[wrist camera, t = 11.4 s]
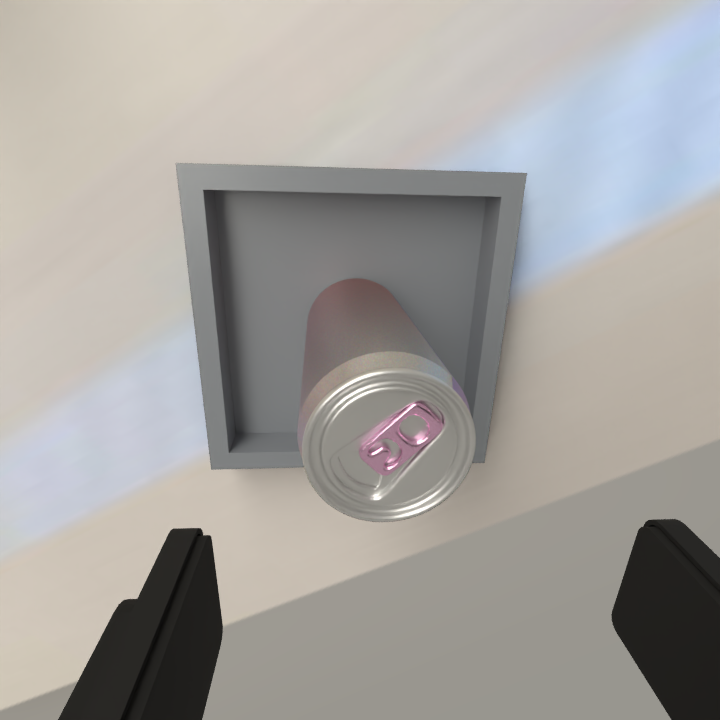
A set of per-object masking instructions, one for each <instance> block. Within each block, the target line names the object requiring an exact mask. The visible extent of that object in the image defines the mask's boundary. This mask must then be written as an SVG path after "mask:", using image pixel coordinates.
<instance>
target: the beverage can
mask: <svg viewBox="0 0 720 720" xmlns="http://www.w3.org/2000/svg"><path fill="white" fill-rule="evenodd" d="M297 438H298V446H299V451H300V454H301V457H302V460H303V465H304V469H305V472H306V475H307V477H308V479H309V482H310V483H311V485H312V487H313V488H314V490H315V491H316V492H317V494H318V495H319V496H320V497H321V498H322V499H323V500H324V501H325V502H326V503H328V504H329V505H330V506H332V507H333V508H334V509H336V510H338V511H340V512H341V513H343V514H346V515H348V516H351V517H353V518H357V519H360V520H365V521H372V522H393V521H400V520H405V519H409V518H412V517H415V516H418V515H421V514H423V513H425V512H427V511H429V510H431V509H433V508H435V507H436V506H438V505H439V504H441V503H442V502H443V501H445V500H446V499H447V498H448V497H449V496H450V495H451V494H452V493H453V492H454V491H455V490H456V489H457V488H458V487H459V485H460V484H461V483H462V481H463V480H464V478H465V477H466V475H467V473H468V471H469V469H470V466H471V464H472V461H473V457H474V453H475V446H476V434H475V427H474V423H473V419H472V416H471V414H470V409H469V405H468V402H467V399H466V396H465V394H464V392H463V390H462V389H461V387H460V386H459V384H458V383H457V381H456V380H455V379H454V377H453V376H452V375H451V373H450V372H449V371H448V369H447V368H446V366H445V365H444V364H443V362H442V361H441V360H440V358H439V357H438V356H437V354H436V353H435V352H434V350H433V349H432V347H431V346H430V345H429V343H428V342H427V341H426V339H425V338H424V337H423V335H422V334H421V333H420V331H419V330H418V328H417V327H416V326H415V324H414V323H413V322H412V320H411V319H410V318H409V316H408V315H407V314H406V312H405V311H404V309H403V308H402V307H401V305H400V304H399V303H398V301H397V300H396V299H395V297H394V296H393V295H392V294H391V293H390V292H389V291H388V290H387V289H386V288H385V287H383V286H382V285H380V284H378V283H376V282H373V281H370V280H367V279H360V278H353V279H346V280H342V281H339V282H336V283H334V284H332V285H330V286H329V287H327V288H326V289H325V290H324V291H322V292H321V293H320V294H319V296H318V297H317V298H316V300H315V301H314V303H313V304H312V306H311V309H310V311H309V315H308V320H307V331H306V342H305V353H304V363H303V374H302V385H301V396H300V407H299V418H298V429H297Z"/></svg>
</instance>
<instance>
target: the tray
mask: <svg viewBox="0 0 720 720" xmlns="http://www.w3.org/2000/svg"><path fill="white" fill-rule="evenodd" d="M176 170H177V179H178V187H179V196H180V204H181V213H182V222H183V230H184V239H185V248H186V256H187V265H188V273H189V282H190V291H191V299H192V308H193V316H194V325H195V334H196V342H197V351H198V359H199V368H200V377H201V385H202V394H203V402H204V411H205V420H206V428H207V437H208V445H209V454H210V463H211V470H213V469H253V468H293V467H304V465H303V460H302V457H301V454H300V451H299V446H298V438H297V429H298V418H299V407H300V396H301V385H302V374H303V363H304V353H305V342H306V331H307V320H308V315H309V311H310V309H311V306H312V304H313V303H314V301H315V300H316V298H317V297H318V296H319V294H320V293H321V292H322V291H324V290H325V289H326V288H327V287H329V286H330V285H332V284H334V283H336V282H339V281H342V280H346V279H353V278H360V279H367V280H370V281H373V282H376V283H378V284H380V285H382V286H383V287H385V288H386V289H387V290H388V291H389V292H390V293H391V294H392V295H393V296H394V297H395V299H396V300H397V301H398V303H399V304H400V305H401V307H402V308H403V309H404V311H405V312H406V314H407V315H408V316H409V318H410V319H411V320H412V322H413V323H414V324H415V326H416V327H417V328H418V330H419V331H420V333H421V334H422V335H423V337H424V338H425V339H426V341H427V342H428V343H429V345H430V346H431V347H432V349H433V350H434V352H435V353H436V354H437V356H438V357H439V358H440V360H441V361H442V362H443V364H444V365H445V366H446V368H447V369H448V371H449V372H450V373H451V375H452V376H453V377H454V379H455V380H456V381H457V383H458V384H459V386H460V387H461V389H462V390H463V392H464V394H465V396H466V399H467V402H468V405H469V409H470V414H471V416H472V419H473V423H474V427H475V434H476V446H475V453H474V457H473V461H472V463H484V462H485V456H486V449H487V442H488V435H489V428H490V421H491V415H492V408H493V401H494V394H495V387H496V380H497V374H498V367H499V360H500V353H501V346H502V339H503V333H504V326H505V319H506V312H507V305H508V298H509V292H510V285H511V278H512V271H513V264H514V257H515V251H516V244H517V237H518V230H519V223H520V216H521V210H522V203H523V196H524V189H525V182H526V175H527V173H507V172H472V171H437V170H402V169H367V168H333V167H298V166H263V165H228V164H193V163H176Z"/></svg>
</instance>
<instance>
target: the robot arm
mask: <svg viewBox="0 0 720 720" xmlns="http://www.w3.org/2000/svg"><path fill="white" fill-rule="evenodd" d="M612 622H613V626H614V628H615V630H616V632H617V634H618V636H619V637H620V639H621V640H622V642H623V643H624V645H625V647H626V648H627V650H628V651H629V653H630V654H631V656H632V658H633V659H634V661H635V663H636V664H637V666H638V667H639V669H640V670H641V672H642V674H643V675H644V676H645V678H646V680H647V682H648V683H649V685H650V686H651V688H652V689H653V691H654V693H655V694H656V696H657V697H658V699H659V701H660V702H661V704H662V705H663V707H664V708H665V710H666V712H667V713H668V715H669V716H670V718H671V720H720V558H719V557H718V556H717V555H716V554H715V553H714V552H713V551H712V550H711V549H710V548H709V547H708V546H707V545H706V544H704V542H703V541H701V540H700V539H699V538H698V537H697V536H696V535H695V534H694V533H693V532H692V531H691V530H690V529H689V528H688V527H687V526H686V525H685V524H684V523H682V522H681V521H679V520H676V519H667V520H666V519H664V520H648V521H647V522H646V523H645V524H644V526H643V527H641V528H640V529H639V531H638V533H637V536H636V540H635V542H634V545H633V549H632V552H631V555H630V558H629V561H628V564H627V567H626V571H625V574H624V576H623V580H622V583H621V586H620V589H619V592H618V595H617V598H616V601H615V604H614V608H613V611H612ZM222 630H223V626H222V617H221V609H220V601H219V593H218V585H217V578H216V570H215V562H214V554H213V546H212V539H211V536H210V535H204V536H203V532H202V530H201V528H185V529H172V530H171V531H170V533H169V534H168V536H167V538H166V541H165V543H164V545H163V547H162V549H161V551H160V553H159V555H158V557H157V559H156V561H155V563H154V566H153V568H152V570H151V572H150V574H149V576H148V578H147V580H146V582H145V584H144V586H143V588H142V591H141V593H140V595H139V597H138V599H127V600H123V601H122V602H121V603H120V604H119V605H118V607H117V608H116V610H115V612H114V613H113V615H112V617H111V619H110V621H109V623H108V625H107V627H106V629H105V631H104V632H103V634H102V636H101V638H100V640H99V642H98V644H97V646H96V648H95V650H94V652H93V654H92V656H91V657H90V659H89V661H88V663H87V665H86V667H85V669H84V671H83V673H82V675H81V677H80V679H79V681H78V682H77V684H76V686H75V688H74V690H73V692H72V694H71V696H70V698H69V700H68V702H67V704H66V706H65V707H64V709H63V711H62V713H61V715H60V717H59V719H58V720H202V718H203V714H204V710H205V706H206V702H207V698H208V694H209V690H210V686H211V681H212V678H213V673H214V670H215V666H216V662H217V658H218V654H219V650H220V645H221V640H222Z"/></svg>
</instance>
